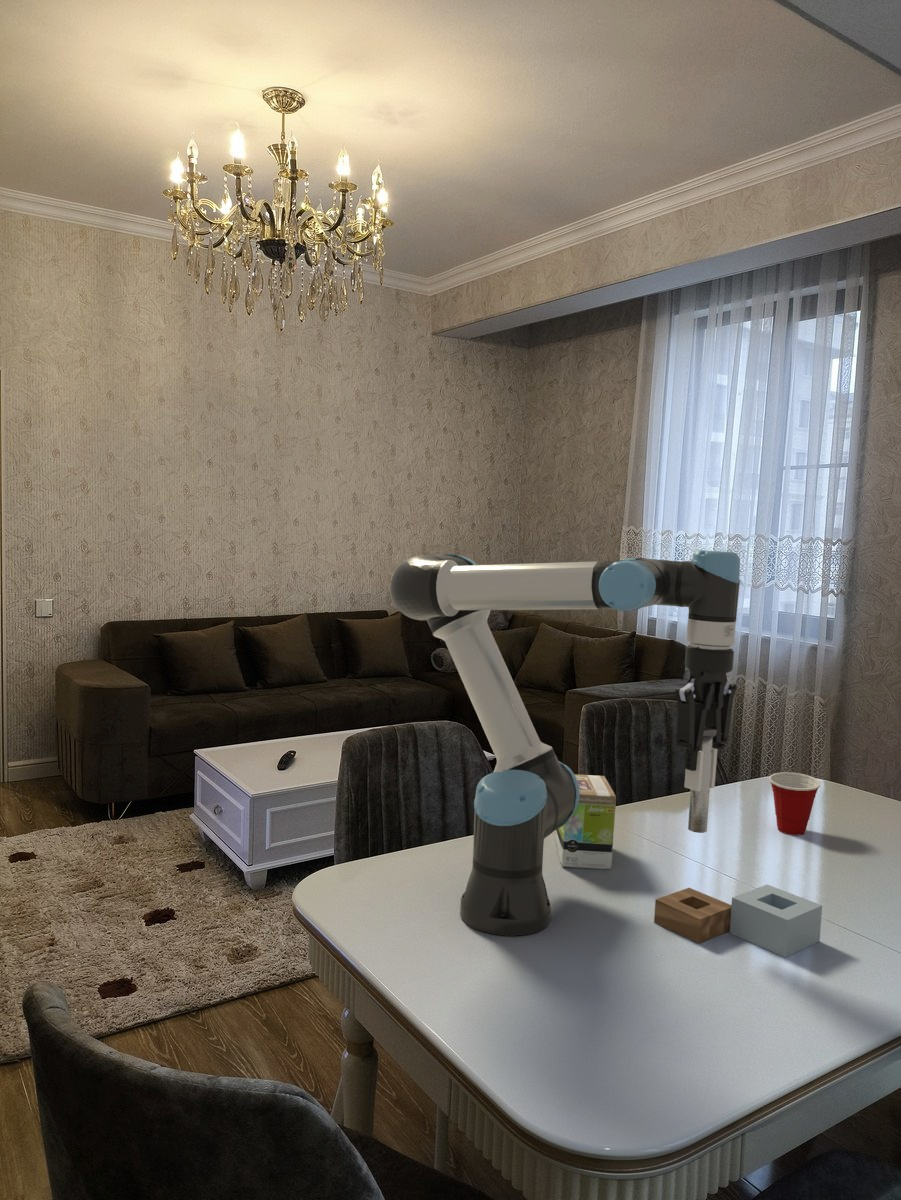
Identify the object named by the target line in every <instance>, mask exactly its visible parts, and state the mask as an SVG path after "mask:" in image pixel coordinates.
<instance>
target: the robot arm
mask: <svg viewBox="0 0 901 1200" xmlns="http://www.w3.org/2000/svg"><path fill="white" fill-rule="evenodd" d="M740 566H741V559H740V556H739V555H738V554H737V553H736V552H733V551H722V550H705V549H703V550H701V549H700V550H699V549H698V550H694V552H693V553H692V558H690V560H687V561H686V560H685V561H684V560H683V561H679V560H667V559H657V558H656V559H654V558H645V557H632V558H631V557H627V558H623V559H621V560H605V561H604V560H603V561H577V562H576V561H571V562H569V561H568V562H538V563H537V562H536V563H506V564H505V563H503V564H499V563H498V564H477V563H476V562H475V561H474V560H472V559H470V558H469V557H467V556H463V555H462V556H461V555H459V554H454V553H453V554H452V553H444V554H440V555H438V554H436V555H435V554H434V555H433V554H432V555H416V556H412V557H409V558H408V559H406V560H403V562H401V563H400V564H399V566H397V568H396V569H395V571H394V572H393V575H392V577H391V580H390V589H389V590H390V595H391V600H392V601H393V603H394V606H395V607H396V608H397V609H398V611H399V612H400V613H402V615H404V616H406V617H408V618H409V619H413V620H417V621H426V622H427V624H428V626H429V628H430V631H431V633H432V636H433V637H434V638H437V639H440V640H442V641H444V642H445V644H446V645H445V646H446V647H447V649H448V652H449V654H450V656H451V658H452V661H453V663H454V665H455V668H456V669H457V672H458V674H459V675H458V676H460V680H461V681H462V683H463V685H464V689H465V691H466V693H467V695H468V698H469V699H470V702H471V705H472V707H473V709H474V711H475V713H476V715H477V717H478V720H479V722H480V724H481V727H482V729H483V731H484V734H485V736H486V738H487V740H488V742H489V745H490V747H491V750H492V751H493V754H494V756H495V758H496V764H495V767H494V770H493V772H491V773H489V774H487V775H485V776H483V777H482V778H480V780H479V782H478V783H477V786H476V788H475V789H476V790H475V798H474V800H473V809H474V816H473V817H474V819H473V820H474V821H473V845H472V846H473V848H472V868H471V871H470V873H469V874H470V875H469V878H468V880H467V884H466V887H465V891H464V892H463V893H462V895H461V898H460V904H459V906H460V907H459V911H460V912H459V915H460V918H461V920H462V921H463V922H464V923H465V924H467V925H468V926H469V927H472V928H474V929H475V930H477V931H478V930H479V931H481V932H483V933H488V934H493V935H499V936H524V935H525V936H526V935H530V934H534V933H538V932H540V931H542V930H544V929H545V928H546V927H548V926H549V924H550V922H551V918H552V917H551V915H552V914H551V912H552V910H551V909H552V905H551V901H550V899H549V896H548V890H547V888H546V884H545V879H544V875H543V864H544V863H543V861H544V842H545V841H544V840H545V839H546V838H547V837H549V836H550V835H551V834H553V833H555V830H556V829H557V828H560V827H562V826H563V825H564V824H565V823H566V822H567V821H568V820H569V819H570V817H571V816H572V815H573V813H574V812H575V810H576V808H577V806H578V803H579V797H580V790H579V784H578V781H577V779H576V777H575V775H574V774H575V773H574V772H573V770H572V769H571V768H570V767H569V766H568V765H566V764H564V763H563V762H561V761H559V760H558V757H557V755H556V753H555V750H554V748H553V747H552V746H551V745H548V744H546V743H544V742H542V741H541V739H540V737H539V735H538V733H537V731H536V728H535V727H534V724H533V722H532V720H531V718H530V715H529V713H528V710H527V709H526V706H525V704H524V702H523V700H522V697H521V695H520V693H519V690H518V689H517V686H516V685H515V682H514V680H513V678H512V675H511V673H510V671H509V669H508V668H509V667H508V666H507V665H506V662H505V660H504V658H503V655H502V653H501V651H500V649H499V646H498V644H497V641H496V640H495V637H494V636H493V633H492V631H491V629H490V626H489V624H488V619H489V616H490V614H491V611H516V610H517V611H518V610H520V611H528V610H529V611H531V610H532V611H534V610H539V611H541V610H543V611H544V610H617V611H620V612H629V611H631V612H632V611H638V610H640V609H642V608H646V607H650V606H665V607H667V606H670V607H678V608H688V614H687V615H688V617H687V626H686V627H687V628H686V638H685V640H686V642H687V643H689V644H688V645H687V646H686V647H685V657H684V658H685V659H684V666H685V668H686V669H687V670H688V671H689V674H688V678H687V681H686V685H684V686H683V687H679V686H678V687H676V688H675V695H676V696H675V697H676V700H677V726H676V727H677V728H676V729H677V732H676V733H677V734H676V735H677V736H676V738H677V739H676V743H677V746H678V747H680V748H681V749H685V762H684V769H685V773H684V775H685V776H684V786H683V787H684V788H686V789H689V790H694V791H697V792H699V791H701V782H702V769H703V756H704V752H703V751H700V749H701V743H702V737H703V731H704V726H708V727H712V728H716V729H717V732H716V736H715V737H713V744H712V760H711V775H710V789H714V788H715V786H716V784H715V783H716V772H717V764H718V756H719V755H718V754H719V750H724V749H725V748H726V743H727V742H728V741H729V740H728V739H729V734H730V724H731V720H732V719H731V718H732V710H733V705H734V698H735V694H736V692H737V688H738V686H737V683H736V684H735V683H730V682H729V681H728V676H727V673H731V672H732V671H733V669H734V659H735V658H734V655H735V651H734V649H733V648H731V647H734V645H735V643H736V642H735V637H736V623H737V617H738V616H737V615H738V614H737V613H738V605H739V596H740V595H739V593H740V584H741V579H740V578H741V577H740V576H741V574H740V572H741V571H740V569H741V567H740Z"/></svg>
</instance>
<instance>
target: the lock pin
mask: <svg viewBox="0 0 901 1200" xmlns="http://www.w3.org/2000/svg"><path fill="white" fill-rule="evenodd" d="M716 732H717V729H716V728H712V727H708V726H704V731H703V737H702V743H701V749H700V751H703V752H704V756H703V769H702V782H701V791H699V792H697V791H694V790H691V789H689V790H690V791H689V792H690V794H689V795H690V796H689V806H688V807H689V808H688V825H687V829H688V831H690V832H693V833H697V834H699V833H700V834H704V833H706V832H708V817H709V803H710V792H711V791H710V789H711V788H710V775H711V760H712V744H713V737H715V736H716Z"/></svg>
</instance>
